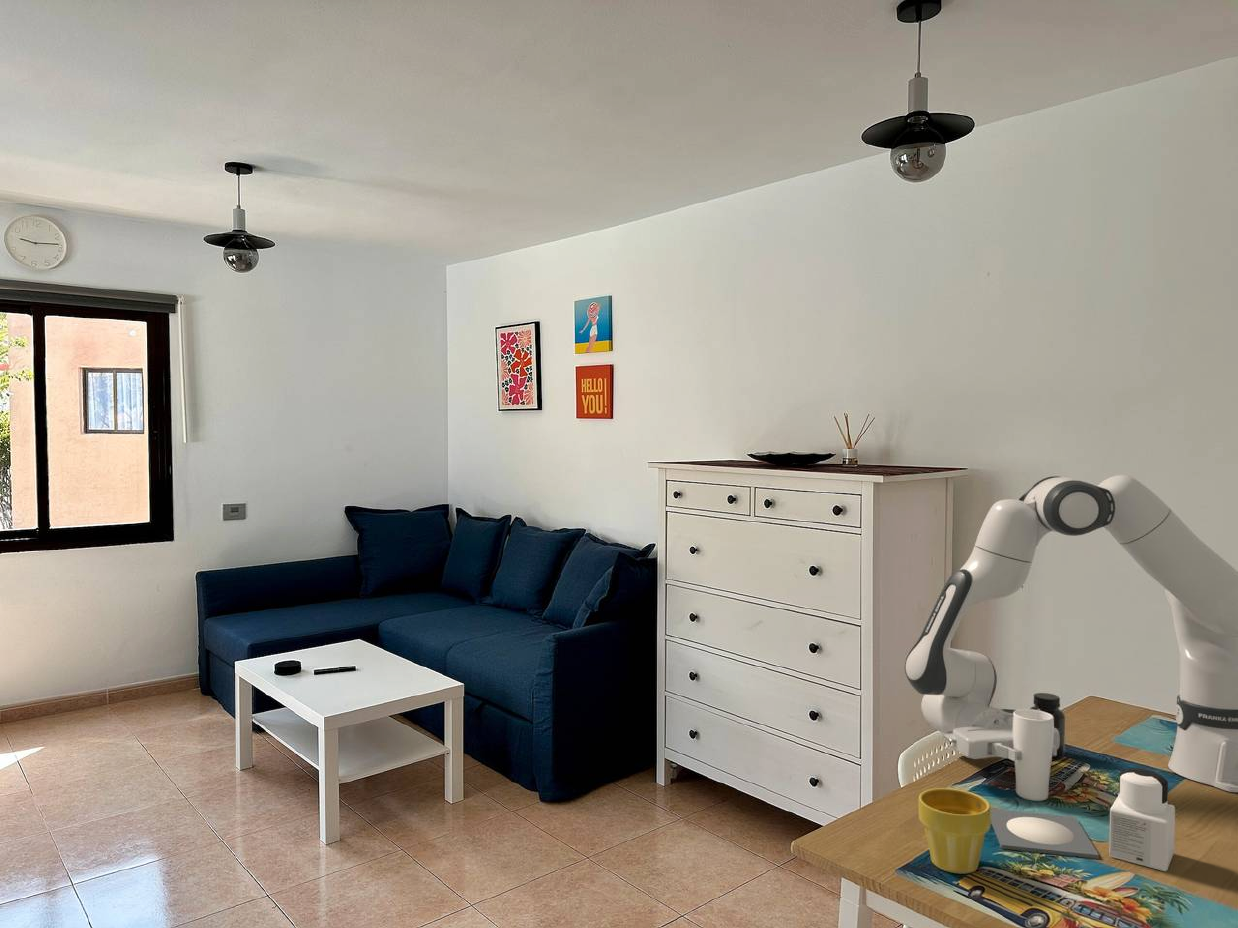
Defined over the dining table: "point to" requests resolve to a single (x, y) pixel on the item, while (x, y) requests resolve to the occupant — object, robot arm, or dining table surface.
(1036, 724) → the drinking glass
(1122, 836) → the container
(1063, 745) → the supplement bottle
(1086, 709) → the dining table surface
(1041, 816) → the mat
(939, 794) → the plant pot
